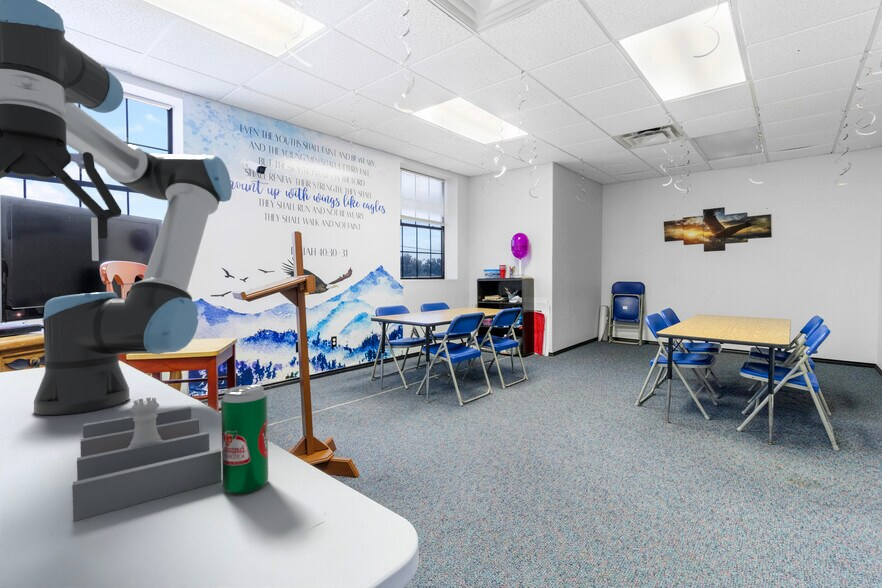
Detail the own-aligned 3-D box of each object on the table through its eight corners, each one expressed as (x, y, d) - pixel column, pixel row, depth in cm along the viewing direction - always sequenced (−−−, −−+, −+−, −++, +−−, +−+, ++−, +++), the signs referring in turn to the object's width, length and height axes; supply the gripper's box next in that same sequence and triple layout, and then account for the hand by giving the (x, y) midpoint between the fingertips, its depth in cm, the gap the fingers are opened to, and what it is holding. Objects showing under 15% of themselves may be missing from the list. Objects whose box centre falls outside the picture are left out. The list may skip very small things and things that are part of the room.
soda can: (212, 492, 49) (211, 392, 49) (247, 474, 54) (245, 382, 54) (244, 500, 47) (242, 396, 47) (277, 481, 52) (276, 386, 52)
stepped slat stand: (84, 448, 63) (83, 424, 63) (190, 428, 71) (190, 406, 71) (73, 521, 43) (72, 485, 43) (221, 480, 52) (221, 451, 52)
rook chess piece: (139, 451, 59) (138, 396, 59) (172, 450, 60) (171, 395, 59) (117, 464, 55) (116, 405, 55) (153, 463, 55) (151, 404, 55)
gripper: (-122, 74, 49) (-116, 253, 49) (139, 124, 65) (141, 260, 65) (-97, 97, 55) (-92, 257, 55) (136, 138, 70) (139, 262, 71)
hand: (34, 259), depth 60 cm, fingers open, 13 cm apart
